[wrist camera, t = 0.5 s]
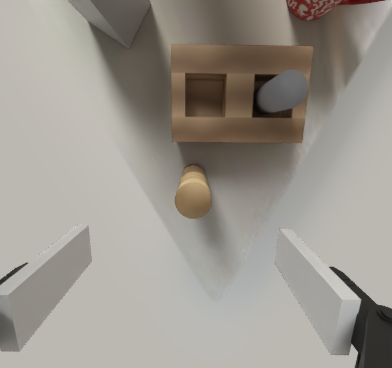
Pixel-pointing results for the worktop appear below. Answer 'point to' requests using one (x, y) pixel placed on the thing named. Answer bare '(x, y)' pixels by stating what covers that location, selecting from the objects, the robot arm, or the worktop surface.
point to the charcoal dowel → (280, 93)
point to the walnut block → (233, 92)
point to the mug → (319, 7)
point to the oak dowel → (193, 193)
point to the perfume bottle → (114, 16)
